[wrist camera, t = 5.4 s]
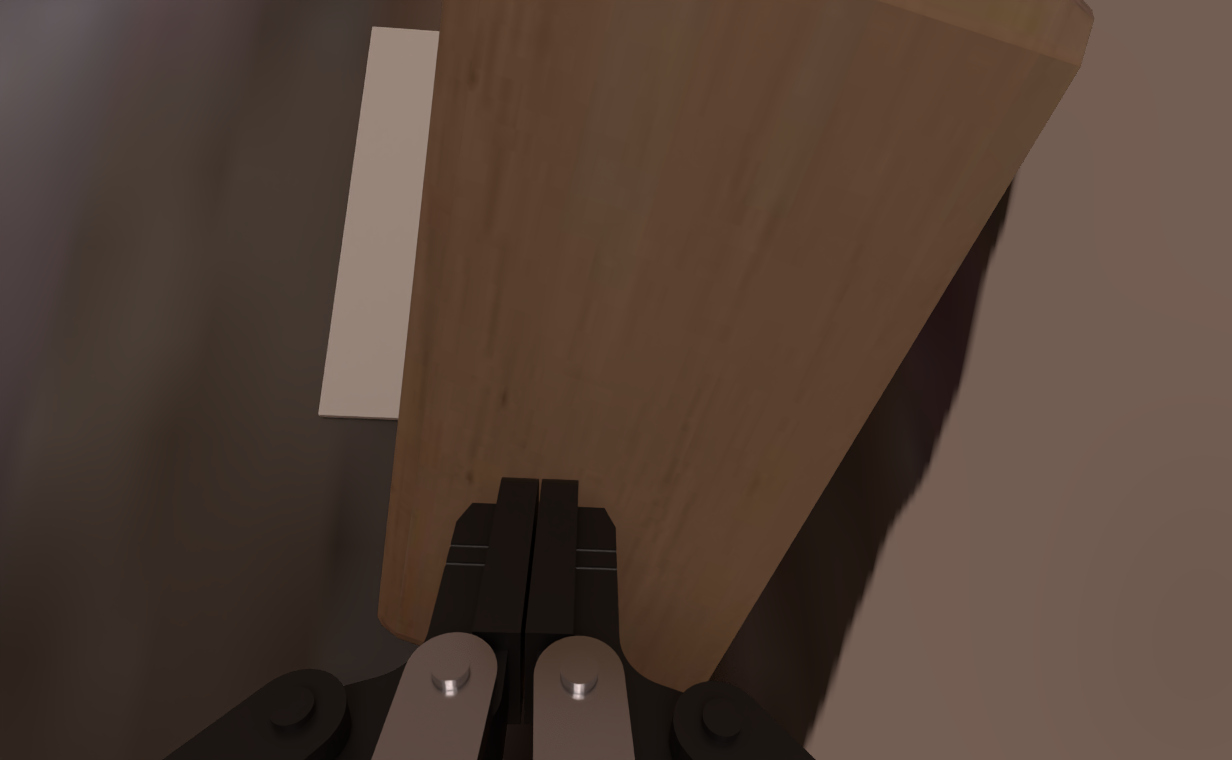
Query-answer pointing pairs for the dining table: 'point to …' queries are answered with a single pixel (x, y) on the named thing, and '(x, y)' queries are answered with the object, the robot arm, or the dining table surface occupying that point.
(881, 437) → the dining table surface
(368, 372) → the pale grey mat
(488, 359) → the wooden block
